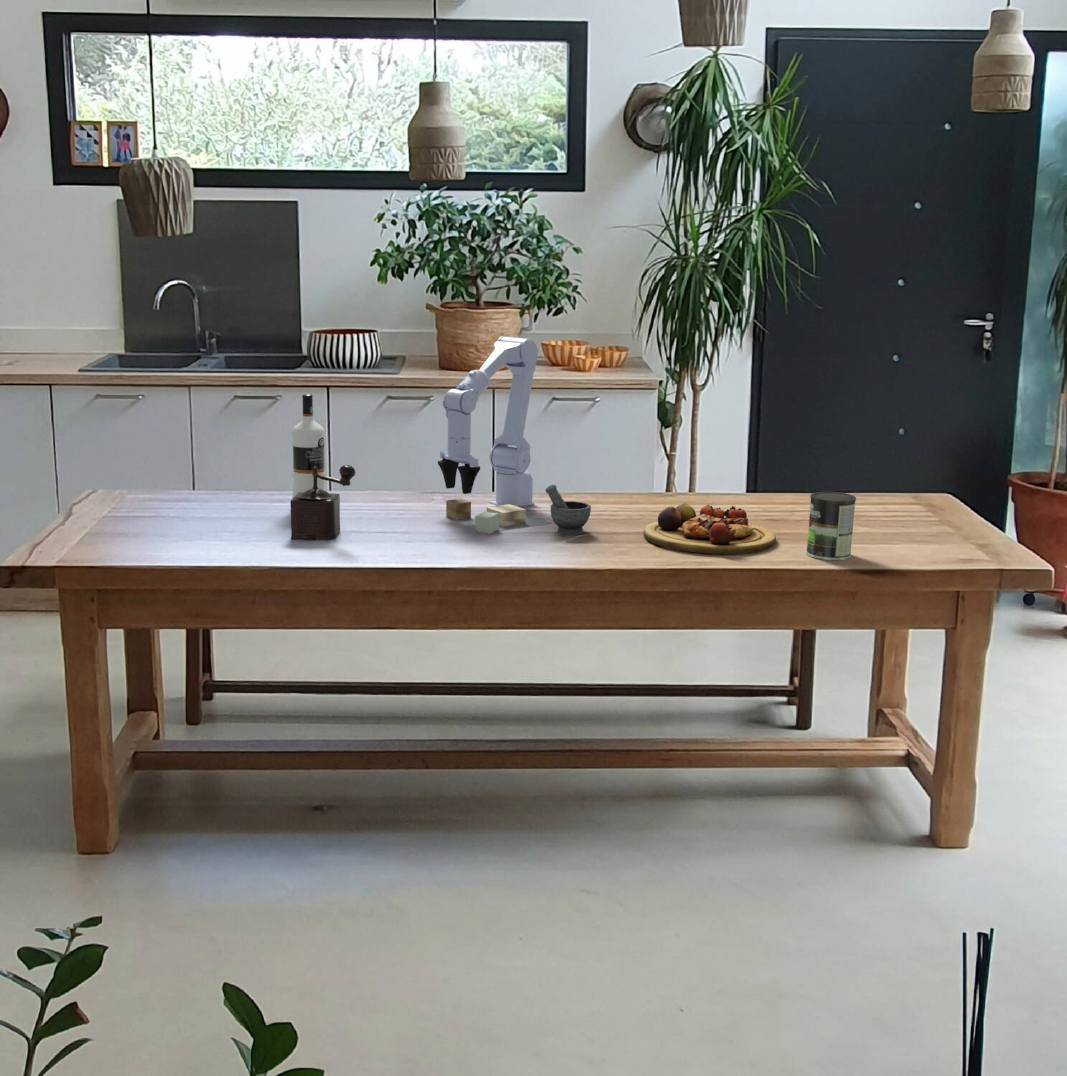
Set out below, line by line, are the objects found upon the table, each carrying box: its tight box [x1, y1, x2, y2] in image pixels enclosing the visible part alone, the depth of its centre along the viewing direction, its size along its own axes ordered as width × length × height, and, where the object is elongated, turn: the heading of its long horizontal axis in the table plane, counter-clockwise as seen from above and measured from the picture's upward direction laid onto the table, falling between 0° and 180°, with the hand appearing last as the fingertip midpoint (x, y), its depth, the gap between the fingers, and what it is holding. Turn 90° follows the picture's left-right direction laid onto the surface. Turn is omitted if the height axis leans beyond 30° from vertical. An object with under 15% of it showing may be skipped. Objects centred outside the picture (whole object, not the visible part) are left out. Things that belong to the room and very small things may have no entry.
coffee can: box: [805, 491, 857, 562], centre depth 311 cm, size 10×10×14 cm
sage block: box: [474, 511, 499, 534], centre depth 327 cm, size 4×4×4 cm
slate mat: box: [461, 514, 552, 533], centre depth 337 cm, size 18×14×1 cm
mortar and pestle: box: [545, 484, 592, 536], centre depth 327 cm, size 11×9×12 cm
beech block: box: [486, 504, 527, 527], centre depth 337 cm, size 7×7×4 cm
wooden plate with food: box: [643, 502, 777, 555], centre depth 325 cm, size 32×32×8 cm
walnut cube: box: [445, 498, 472, 521], centre depth 341 cm, size 4×4×4 cm
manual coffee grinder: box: [290, 464, 356, 541], centre depth 319 cm, size 16×11×18 cm
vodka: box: [291, 393, 327, 500], centre depth 343 cm, size 9×9×30 cm
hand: (458, 490), depth 340 cm, fingers open, 7 cm apart
